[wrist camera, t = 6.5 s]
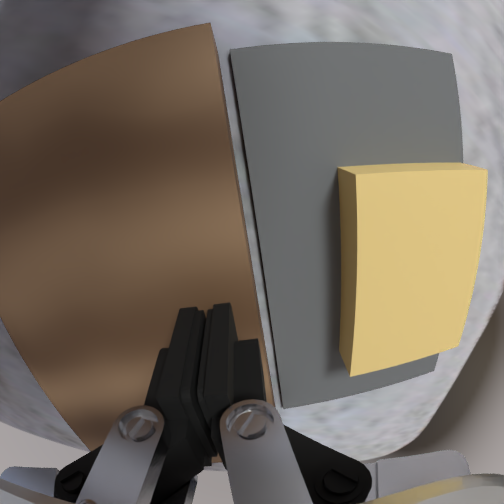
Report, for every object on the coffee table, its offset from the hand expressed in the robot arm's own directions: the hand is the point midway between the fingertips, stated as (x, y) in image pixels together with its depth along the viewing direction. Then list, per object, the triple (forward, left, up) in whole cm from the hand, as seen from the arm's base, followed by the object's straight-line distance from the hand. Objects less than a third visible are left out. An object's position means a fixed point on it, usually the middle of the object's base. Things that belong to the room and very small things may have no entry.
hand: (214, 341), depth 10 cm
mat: (0, +7, -5) cm, 9 cm away
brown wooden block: (0, -5, -5) cm, 7 cm away
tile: (+1, +9, -2) cm, 10 cm away
